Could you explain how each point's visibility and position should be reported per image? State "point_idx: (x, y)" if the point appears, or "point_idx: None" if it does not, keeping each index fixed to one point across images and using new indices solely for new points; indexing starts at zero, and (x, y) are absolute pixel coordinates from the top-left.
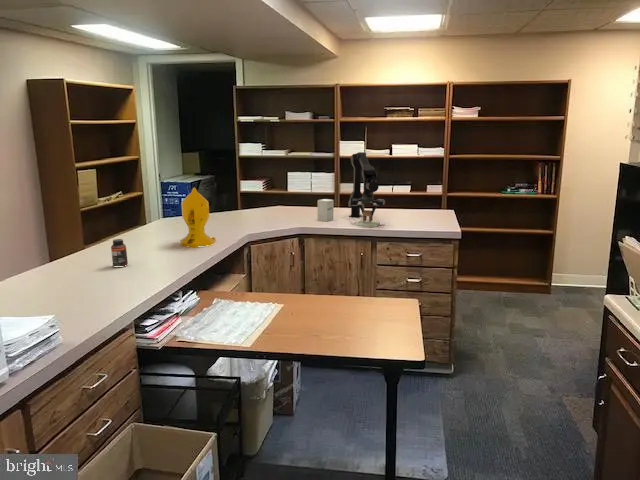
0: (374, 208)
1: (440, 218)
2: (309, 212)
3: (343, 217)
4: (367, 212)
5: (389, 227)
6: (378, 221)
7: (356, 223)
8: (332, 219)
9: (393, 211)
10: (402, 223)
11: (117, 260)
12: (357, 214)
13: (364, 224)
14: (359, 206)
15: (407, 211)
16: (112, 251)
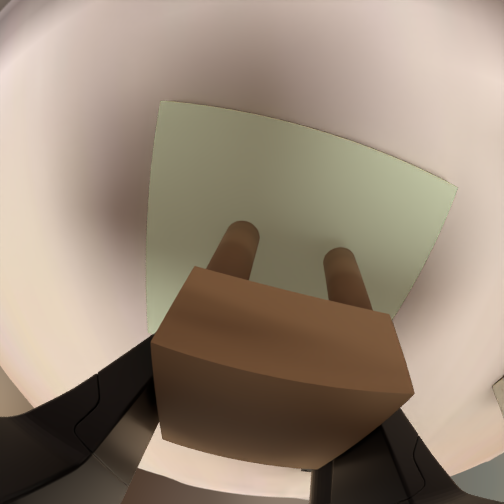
0: (37, 416)
1: (5, 362)
2: (477, 449)
3: None
4: (279, 359)
5: (44, 124)
6: None
7: (439, 220)
8: (500, 382)
9: (173, 473)
10: (29, 298)
11: None
12: (329, 467)
13: (336, 142)
14: (484, 498)
15: None
16: None
